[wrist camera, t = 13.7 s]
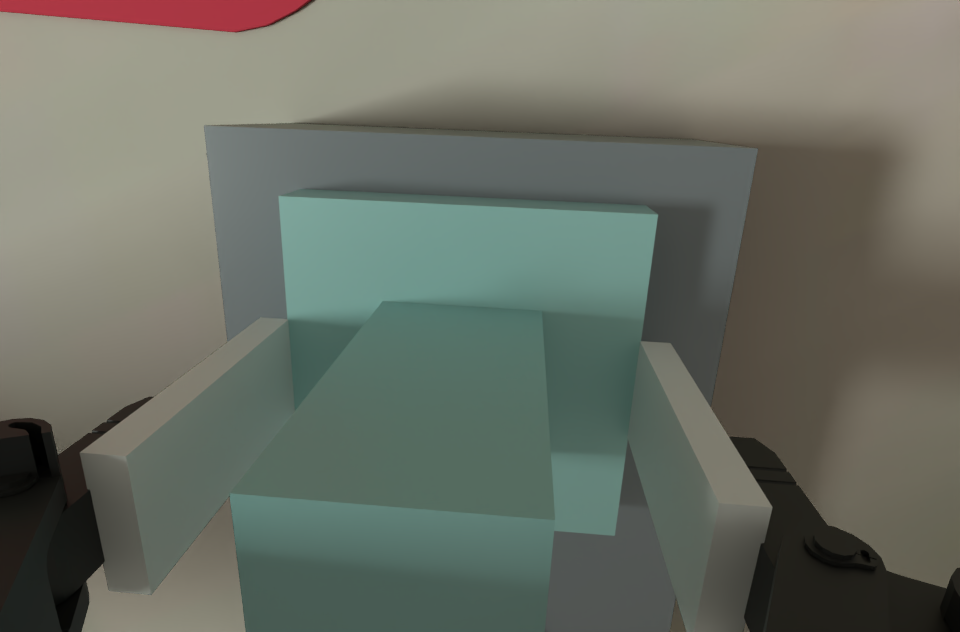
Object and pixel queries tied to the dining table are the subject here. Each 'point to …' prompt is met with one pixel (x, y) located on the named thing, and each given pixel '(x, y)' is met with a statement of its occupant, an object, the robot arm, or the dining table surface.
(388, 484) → the cover
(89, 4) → the door hanger
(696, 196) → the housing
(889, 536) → the dining table surface
